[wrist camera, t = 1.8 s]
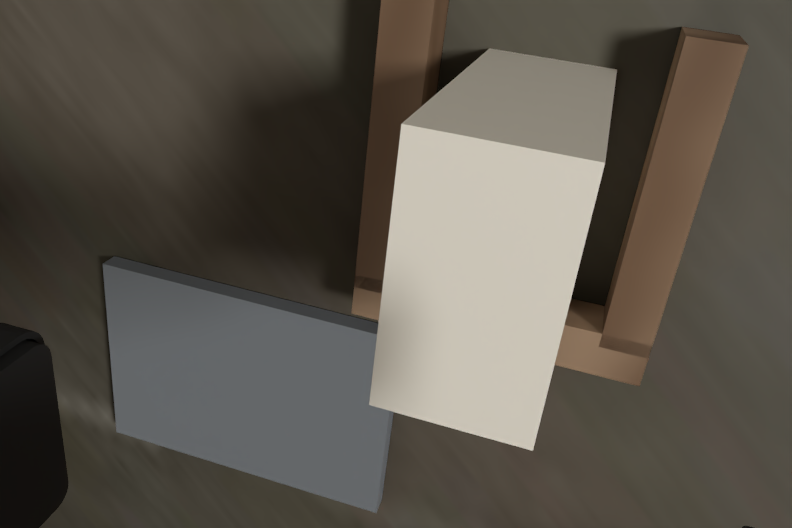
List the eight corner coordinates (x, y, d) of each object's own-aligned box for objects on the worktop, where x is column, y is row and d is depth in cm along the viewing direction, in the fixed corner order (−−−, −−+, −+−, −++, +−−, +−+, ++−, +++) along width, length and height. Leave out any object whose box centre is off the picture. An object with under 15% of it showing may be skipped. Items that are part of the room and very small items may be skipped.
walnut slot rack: (739, 35, 21) (749, 45, 19) (639, 355, 26) (639, 386, 24) (401, -16, 23) (382, -11, 21) (369, 289, 28) (351, 313, 26)
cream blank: (617, 69, 22) (604, 162, 14) (568, 270, 25) (532, 450, 17) (489, 48, 23) (401, 124, 14) (457, 245, 26) (368, 405, 18)
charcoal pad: (404, 329, 28) (398, 339, 28) (381, 500, 32) (376, 513, 32) (114, 256, 31) (102, 263, 30) (126, 422, 35) (116, 431, 34)
